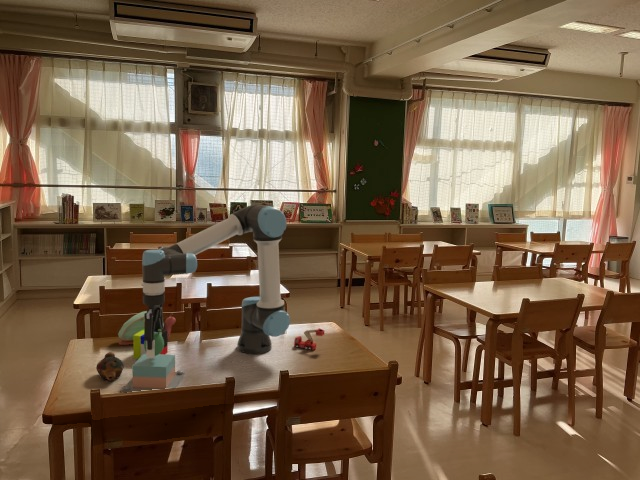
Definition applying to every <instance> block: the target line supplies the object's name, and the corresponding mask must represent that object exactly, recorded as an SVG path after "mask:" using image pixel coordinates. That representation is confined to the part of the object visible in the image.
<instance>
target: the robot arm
mask: <svg viewBox="0 0 640 480" xmlns="http://www.w3.org/2000/svg"><path fill="white" fill-rule="evenodd" d="M286 229H287V218H286V215H285V214H284V212H283V211H282V210H281V209H279V208H277V207H274V206H271V205H270V206H269V205H263V204H259V203H258V204H257V203H255V204H250V205H247V206H245V207H243V208H240V209H239V210H237V211H235V212H233V213H231V214H229V216H228V218H226V219H224V220H222V221H220V222H218V223H215V224H213V225H211V226H209V227H207V228H205V229H203V230H201V231H200V232H198V233H195V234H193V235H191V236H189V237H187V238H185V239H183V240H181V241H179V242H177V243H174V244H172V245H170V246H162V247H160V248H158V249H147V250H144V251H143V253H142V261H141V265H142V266H141V267H142V268H141V269H142V283H141V286H142V293H143V294H142V303H143V305H145V306H147V310H146V311H147V313H145V314H144V316H145V328H144V341H146V353H147V358H154V357H155V340H154V333H158V329H161V330H162V332H164V329H163V323H164V315H163V312H164V311H163V306H164V305H163V304H164V303H165V298H166V296H165V294H166V293H165V290H166V289H165V287H166V286H165V285H166V284H165V277H166V276H176V275H188V274H193V273H195V272H196V271H197V269H198V260H197V255H198V254H200V253H203V252H204V251H207V250H209V249H210V248H212V247H215V246H217V245H219V244H221V243H222V242H224V241H227V240H228V239H230V238H233V237H235V236H236V235H238V236H242V235H243V234H247V233H252V237H253V241H254V242H255V243H256V245H257V264H258V284H259V296H250V297H245V298H244V299H242V301H241V332H240V335H239V338H238V341H237V343H236V344H237V345H236V346H237V350H238V351H239V352H241V353H244V354H249V355H250V354H251V355H252V354H253V355H257V354H258V355H259V354H265V353H268V352H269V351H271V350H272V348H273V347H272V343H273V342H272V339H271V337H272V338H274V337H276V338H278V337H280V336H282V335H284V334H285V333H286V331H287V330H288V329H289V327H290V323H291V318H290V315H289V313H288V312H287V311H286V310H285V309H286V307H285V301H284V300H283V299H282V297H281V295H282V294H281V274H280V273H281V272H280V252H279V251H280V249H279V248H280V247H279V246H280V245H279V243H280V242H281V240H283V234H284V231H286ZM154 330H155V332H154ZM162 332H160V333H159V334H161V335H162Z"/></svg>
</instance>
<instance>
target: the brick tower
mask: <svg viewBox="0 0 640 480" xmlns="http://www.w3.org/2000/svg"><path fill="white" fill-rule="evenodd" d="M131 368H132V370H131V371H132V378H131V379H130V380H129V381H128V382H127V383H126V384H125V385H124V386H123V388H122V389H121V391H120V392H132V391H141V390H152V389H165V388H176V387H177V388H178V386H179V384H180V383H181V381H182V380H183V378H184V377H185V375H186V371H184V370H182V369H180V370H177V371H176V354H165V355H164V354H158V355H156V356H155V357H154V358H147V354H143V355H142V356H141V357H140V358H139V359H137V360H135V362H134V364H132V367H131ZM177 388H176V389H177Z"/></svg>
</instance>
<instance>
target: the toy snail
mask: <svg viewBox="0 0 640 480" xmlns="http://www.w3.org/2000/svg"><path fill="white" fill-rule="evenodd" d="M145 313H147V310H146V311H145V310H144V311H141V312H139V313H137V314H135V315H133V316H131V317H130V318H129V319H128V320H126V322H124V323H123V325H122V326H121V328H120V329H119V332H118V333H117V335H118V338H119V339H120V340H119V342H118V345H120V346H127V345H129V344H130V345H133V335H135V334H136V333H138V332H140V331H142V330H143V329H144V328H145V316H144V314H145ZM173 315H174V314H173V313H170V316H169V317H166V319H165V321H164V322H163V329H164V330H167V340H168V339H169V338H170V336H171V332H172V327H173V325H174V324H175V323H176V321H177V320H176V318H175V317H174V316H173Z"/></svg>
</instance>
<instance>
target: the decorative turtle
mask: <svg viewBox="0 0 640 480" xmlns="http://www.w3.org/2000/svg"><path fill="white" fill-rule="evenodd" d="M124 365H125V364H124V362H123V360H121V358H118V357H116V355H115V353H114V352H112V351H108V352H107V353H105V355H104V357H103V358H102V359H100V360H99V361H98V362H97V365H96V371H97V373H98V375H99V376H100V379H101V380H103V381H105V380H106V379H107V381H113V380H115V378H116V379H118V378H120V377H121V375H122V373H123V371H124V368H125V366H124Z"/></svg>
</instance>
